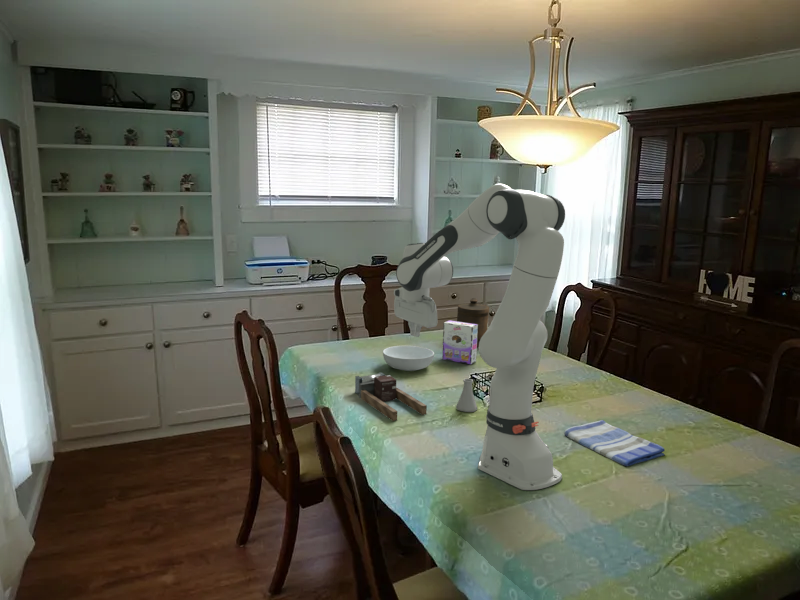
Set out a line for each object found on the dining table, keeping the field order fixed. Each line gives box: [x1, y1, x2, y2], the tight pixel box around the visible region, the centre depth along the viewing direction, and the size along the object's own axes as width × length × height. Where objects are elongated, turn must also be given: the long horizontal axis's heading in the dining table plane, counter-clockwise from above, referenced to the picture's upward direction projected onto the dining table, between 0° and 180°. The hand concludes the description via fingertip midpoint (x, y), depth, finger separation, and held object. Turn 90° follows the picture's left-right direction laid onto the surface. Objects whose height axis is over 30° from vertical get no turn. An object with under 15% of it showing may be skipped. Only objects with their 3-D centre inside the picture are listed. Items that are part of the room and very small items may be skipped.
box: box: [374, 374, 397, 403], centre depth 200 cm, size 6×6×7 cm
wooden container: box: [456, 297, 490, 348], centre depth 273 cm, size 15×15×22 cm
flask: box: [455, 378, 478, 413], centre depth 192 cm, size 7×7×10 cm
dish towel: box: [563, 419, 666, 467], centre depth 168 cm, size 17×24×3 cm
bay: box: [358, 381, 428, 422], centre depth 193 cm, size 24×12×5 cm, turn 31°
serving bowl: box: [382, 345, 435, 372], centre depth 235 cm, size 21×21×7 cm
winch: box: [354, 371, 386, 396], centre depth 206 cm, size 4×10×6 cm, turn 121°
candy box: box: [442, 319, 478, 365], centre depth 246 cm, size 14×6×16 cm, turn 58°
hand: (415, 335), depth 187 cm, fingers closed
